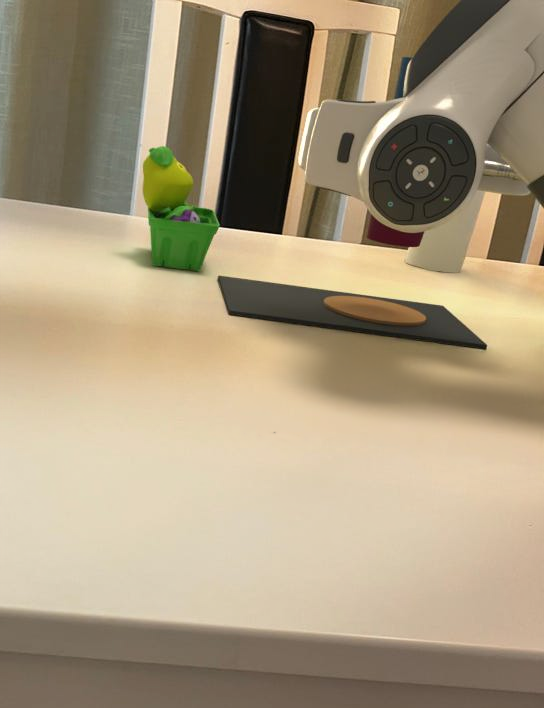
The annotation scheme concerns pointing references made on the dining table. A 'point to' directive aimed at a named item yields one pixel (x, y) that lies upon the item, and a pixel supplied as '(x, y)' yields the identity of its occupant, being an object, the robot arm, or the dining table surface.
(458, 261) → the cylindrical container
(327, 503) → the dining table surface
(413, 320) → the placemat
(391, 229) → the cup
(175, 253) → the fruit basket
